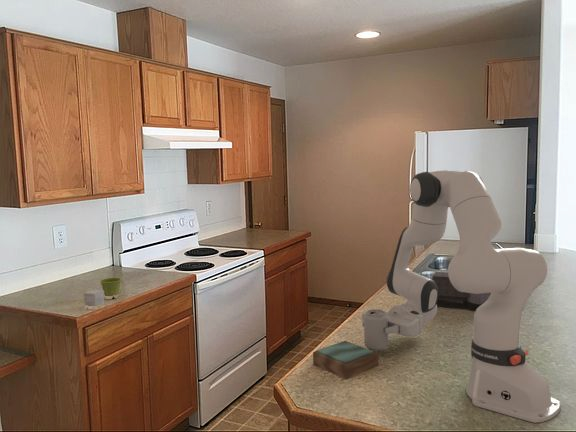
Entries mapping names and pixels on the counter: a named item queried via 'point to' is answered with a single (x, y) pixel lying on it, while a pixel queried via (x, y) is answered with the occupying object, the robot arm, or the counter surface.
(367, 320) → the can
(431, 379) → the counter surface
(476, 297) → the juicer
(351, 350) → the plinth
